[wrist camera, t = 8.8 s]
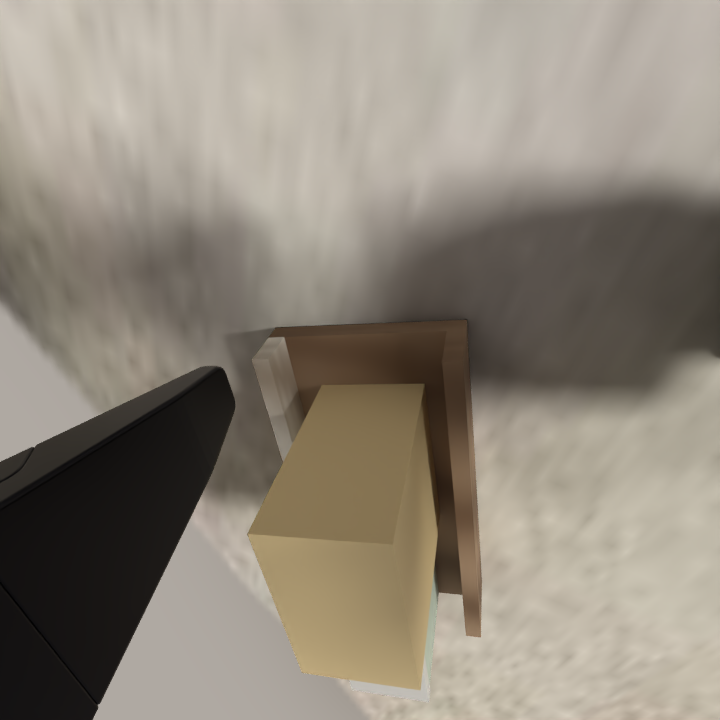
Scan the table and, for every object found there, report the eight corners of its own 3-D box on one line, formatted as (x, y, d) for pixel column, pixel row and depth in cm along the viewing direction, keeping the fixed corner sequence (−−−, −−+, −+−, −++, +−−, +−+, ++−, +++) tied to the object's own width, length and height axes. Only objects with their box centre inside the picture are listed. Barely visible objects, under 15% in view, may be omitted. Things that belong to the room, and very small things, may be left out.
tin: (434, 547, 29) (421, 657, 24) (439, 593, 31) (429, 702, 26) (364, 542, 30) (338, 645, 25) (374, 586, 32) (351, 690, 27)
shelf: (481, 582, 31) (480, 637, 28) (337, 568, 33) (323, 618, 31) (467, 319, 22) (462, 361, 19) (272, 327, 25) (242, 365, 22)
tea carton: (439, 514, 27) (420, 690, 20) (349, 509, 29) (299, 672, 21) (424, 383, 23) (392, 544, 16) (319, 385, 24) (243, 533, 17)
